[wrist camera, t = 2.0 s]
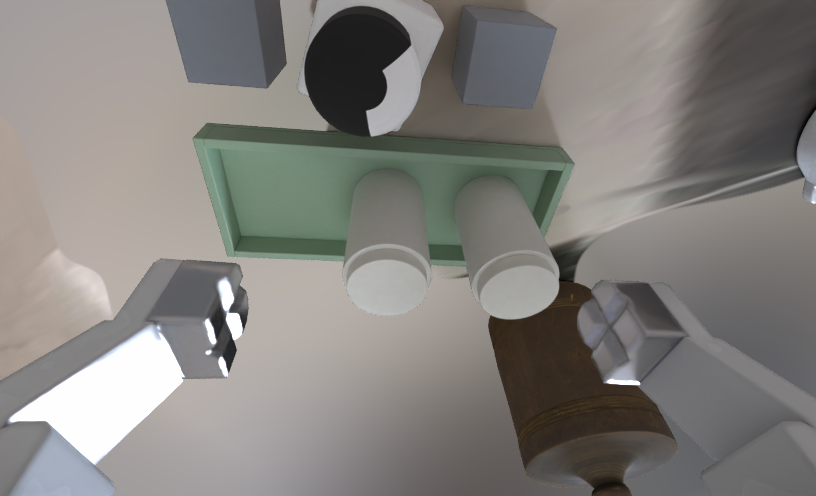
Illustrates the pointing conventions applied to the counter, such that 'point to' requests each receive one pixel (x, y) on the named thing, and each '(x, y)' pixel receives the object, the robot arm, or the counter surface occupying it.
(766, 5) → the counter surface
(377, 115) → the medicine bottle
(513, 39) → the grey box
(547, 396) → the wooden container
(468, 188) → the white bottle
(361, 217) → the white bottle
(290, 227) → the tray
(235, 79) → the grey box
